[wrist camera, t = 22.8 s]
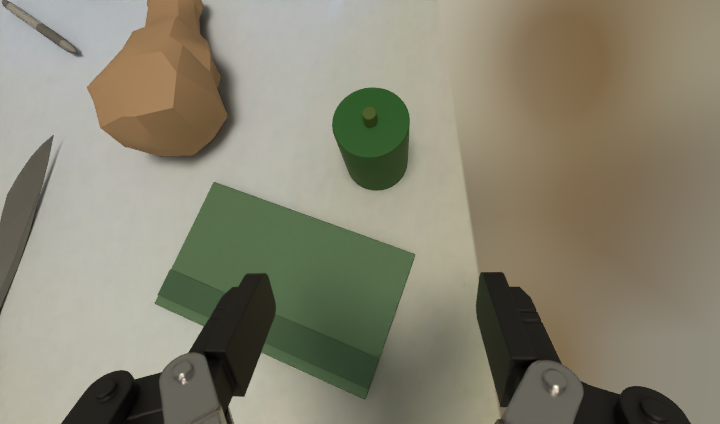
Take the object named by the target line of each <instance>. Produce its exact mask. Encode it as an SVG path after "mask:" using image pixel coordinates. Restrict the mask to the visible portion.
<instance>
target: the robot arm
mask: <svg viewBox="0 0 720 424" xmlns="http://www.w3.org/2000/svg"><path fill="white" fill-rule="evenodd" d="M275 313H276V302H275V298H274V294H273V291H272V287H271V284H270V280H269V277H268V275H267V274H266V273H247V274H245V276H244V277H243V279H242V281H241V283H240V284H239V286H238V287H232V288H231V289H230V290H228V291H227V292H226V293H225V294H224V295H223V296H222V297H221V299H220V300H219V302H218V304H217V306H216V309H214V311H213V312H212V314H211V316H210V319H208V321H207V322H206V324H205V326H204V327H203V329H202V331H201V332H200V334H199V336H198V338H197V339H196V341H195V343H194V344H193V346H192V348H191V349H190V351H189V353H187V354H184V355H181V356H179V357H177V358H176V359H174V360H173V361H171V362H170V363H169V364H168V365H167V366H166V367H165V369H164V370H163V372H161V373H158V374H154V375H150V376H146V377H143V378H139V379H134V378H133V376H132V375H131V374H130V373H129V372H128V371H123V370H120V371H114V372H111V373H108V374H106V375H104V376H102V377H101V378H99V379H98V380H96V381H95V382H94V383H93V384H91V385H90V386H89V387H88V389H87V390H86V391H85V392H84V394H83V395H82V396H81V398H80V399H79V400H78V402H77V403H76V404H75V406H74V407H73V408H72V410H71V411H70V412H69V414H68V415H67V416H66V418H65V419H64V421H63V422H62V423H61V424H234V422H233V418H232V415H231V412H230V409H229V407H228V406H229V403H230V401H231V399H232V396H241V397H244V396H245V393H246V391H247V388H248V385H249V383H250V380H251V378H252V375H253V372H254V370H255V367H256V365H257V362H258V359H259V357H260V354H261V352H262V349H263V346H264V344H265V341H266V339H267V336H268V333H269V331H270V328H271V326H272V323H273V320H274V318H275ZM476 313H477V320H478V324H479V327H480V331H481V335H482V339H483V342H484V346H485V350H486V354H487V358H488V361H489V365H490V369H491V373H492V376H493V380H494V384H495V388H496V391H497V395H498V399H499V403H500V407H507V408H506V410H505V412H504V414H503V416H502V418H501V419H500V420H499V419H498V420H497V421H496V422H495V424H691V423H690V422H689V420H688V419H687V417H686V416H685V414H684V413H683V411H682V410H681V409H680V408H679V407H678V406H677V405H676V404H675V403H674V402H673V401H672V400H670V399H669V398H667V397H666V396H664V395H663V394H661V393H659V392H657V391H655V390H652V389H649V388H646V387H640V386H633V387H628V388H626V389H625V390H623V391H622V393H621V395H620V394H616V393H613V392H609V391H607V390H603V389H600V388H596V387H593V386H591V385H588V384H586V383H584V382H582V381H580V380H579V378H578V377H577V376H576V375H575V374H574V373H573V372H572V371H571V370H570V369H569V368H567V367H566V366H564V365H562V363H561V361H560V360H559V357H558V355H557V353H556V351H555V349H554V347H553V345H552V342H551V340H550V338H549V336H548V334H547V332H546V329H545V327H544V326H543V323H542V322H541V319H540V317H539V315H538V312H536V308H535V306H534V304H533V302H532V300H531V298H530V297H529V296H528V295H527V294H526V293H525V292H524V291H523V290H522V289H521V288H520V287H509V285H508V283H507V280H506V278H505V276H504V274H503V273H502V272H481V273H480V277H479V285H478V293H477V301H476Z"/></svg>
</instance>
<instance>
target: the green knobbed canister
mask: <svg viewBox="0 0 720 424" xmlns="http://www.w3.org/2000/svg"><path fill="white" fill-rule="evenodd" d="M409 125H410V118H409V113H408V110H407V107H406V105H405V104H404V102H403V101H402V100H401V99H400V98H399V97H398V96H397V95H395V94H394V93H392V92H390V91H388V90H385V89H381V88H364V89H361V90H358V91H355V92H353V93H351V94H350V95H348V96H347V97H346V98H345V99H344V100H343V101H342V102H341V103H340V104H339V106H338V107H337V109H336V111H335V113H334V116H333V123H332V127H333V133H334V136H335V139H336V141H337V144H338V146H339V149H340V151H341V154H342V156H343V159H344V161H345V164H346V166H347V169H348V171H349V174H350V176H351V177H352V179H353V180H354V181H355V182H356V183H357V184H358V185H360V186H362V187H364V188H366V189H370V190H383V189H387V188H389V187H391V186H393V185H395V184H396V183H397V182H398V181H399V180H400V179H401V178H402V177H403V175H404V173H405V171H406V168H407V161H408V143H409Z"/></svg>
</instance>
